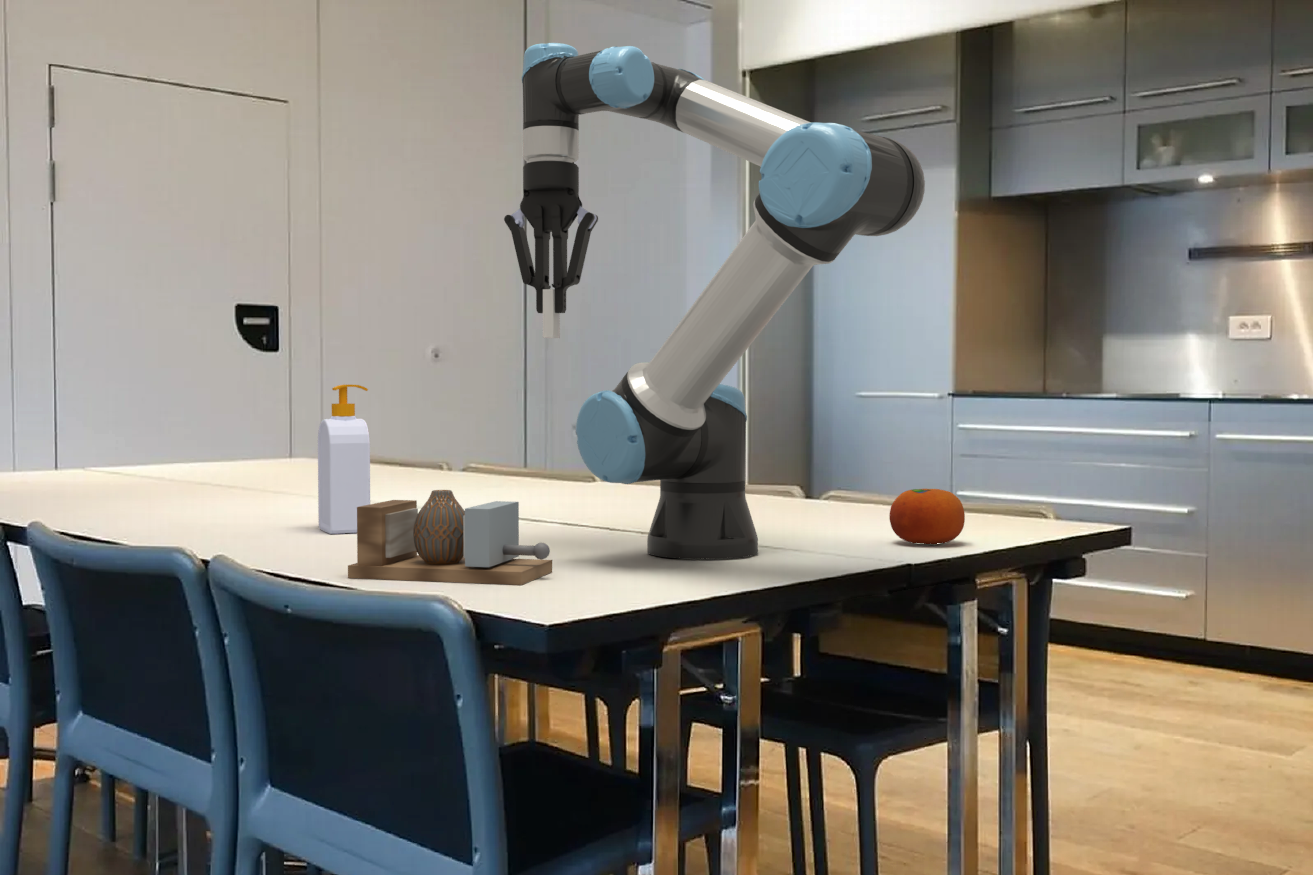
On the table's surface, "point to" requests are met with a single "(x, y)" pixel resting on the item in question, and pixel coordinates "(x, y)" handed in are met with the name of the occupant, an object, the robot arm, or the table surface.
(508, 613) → the table surface
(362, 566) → the vise base
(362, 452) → the soap bottle
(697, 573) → the table surface
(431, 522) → the vase
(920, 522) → the fruit
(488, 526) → the jaw
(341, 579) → the table surface
